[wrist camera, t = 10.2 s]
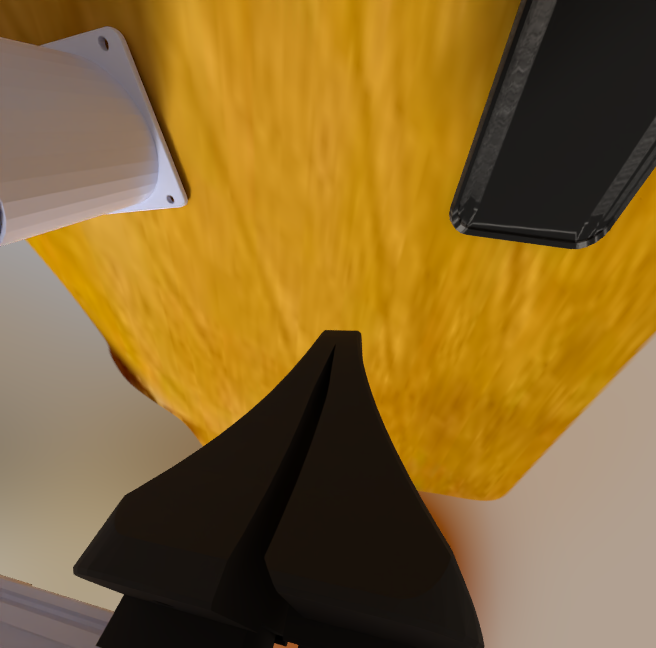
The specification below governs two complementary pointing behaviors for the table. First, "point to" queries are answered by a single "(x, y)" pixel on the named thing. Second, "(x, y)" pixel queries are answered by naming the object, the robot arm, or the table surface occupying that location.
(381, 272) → the table surface
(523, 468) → the table surface
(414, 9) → the table surface
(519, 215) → the phone
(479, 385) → the table surface
